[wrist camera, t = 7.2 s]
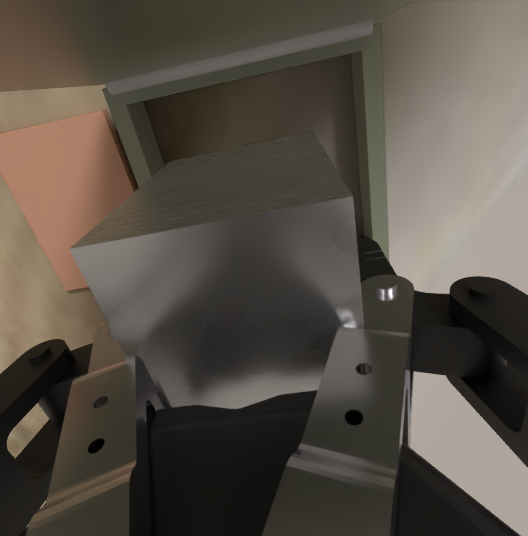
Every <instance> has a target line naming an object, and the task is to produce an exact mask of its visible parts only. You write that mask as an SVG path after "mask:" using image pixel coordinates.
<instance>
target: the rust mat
mask: <svg viewBox="0 0 528 536" xmlns="http://www.w3.org/2000/svg"><path fill="white" fill-rule="evenodd" d="M0 173H1V175H2V176H3V178H4V180H5V182H6V184H7V185H8V187H9V189H10V191H11V193H12V194H13V196H14V198H15V200H16V202H17V204H18V205H19V207H20V209H21V211H22V213H23V214H24V216H25V218H26V220H27V222H28V223H29V225H30V227H31V229H32V231H33V232H34V234H35V236H36V238H37V240H38V242H39V243H40V245H41V247H42V249H43V251H44V252H45V254H46V256H47V258H48V260H49V261H50V263H51V265H52V267H53V269H54V270H55V272H56V274H57V276H58V278H59V280H60V281H61V283H62V285H63V287H64V289H65V290H66V291H68V290H74V289H80V288H86V287H89V286H88V284H87V282H86V280H85V279H84V277H83V275H82V273H81V271H80V269H79V267H78V265H77V263H76V261H75V259H74V258H73V256H72V254H71V252H70V250H69V249H70V248H71V247H72V246H73V245H74V244H75V243H77V242H78V241H79V240H80V239H81V238H82V237H84V236H85V235H86V234H87V233H88V232H89V231H90V230H92V229H93V228H94V227H95V226H96V225H97V224H98V223H100V222H101V221H102V220H103V219H104V218H105V217H107V216H108V215H109V214H110V213H111V212H112V211H113V210H115V209H116V208H117V207H118V206H119V205H120V204H121V203H123V202H124V201H125V200H126V199H127V198H128V197H129V196H131V195H132V194H133V193H134V192H135V191H136V190H137V189H136V186H135V184H134V181H133V178H132V176H131V173H130V170H129V168H128V165H127V162H126V160H125V157H124V155H123V152H122V149H121V147H120V144H119V141H118V139H117V136H116V133H115V131H114V128H113V125H112V123H111V120H110V118H109V115H108V112H107V110H102V111H97V112H93V113H89V114H84V115H80V116H75V117H71V118H67V119H62V120H58V121H54V122H49V123H45V124H40V125H36V126H32V127H27V128H23V129H19V130H14V131H10V132H5V133H1V134H0Z"/></svg>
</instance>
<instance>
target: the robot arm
mask: <svg viewBox="0 0 528 536" xmlns="http://www.w3.org/2000/svg"><path fill="white" fill-rule="evenodd" d="M357 248H358V259H359V271H360V282H361V294H362V305H363V317H364V329H359V328H349V327H339V328H338V330H337V333H336V336H335V339H334V342H333V345H332V348H331V351H330V354H329V357H328V360H327V363H326V367H325V370H324V373H323V376H322V379H321V382H320V385H319V388H318V390H314V391H306V392H298V393H289V394H281V395H278V396H275V397H272V398H269V399H266V400H263V401H260V402H257V403H254V404H252V405H249V406H246V407H243V408H239V409H229V408H220V407H212V406H203V405H190V406H182V407H174V408H165V407H164V405H163V403H162V401H161V399H160V397H159V395H158V393H157V391H156V389H155V386H154V384H153V380H152V378H151V376H150V374H149V372H148V370H147V368H146V366H145V364H144V362H143V360H142V359H141V358H140V357H139V356H135V357H132V358H129V359H126V357H125V355H124V353H123V351H122V349H121V347H120V345H119V343H118V342H117V340H116V338H115V336H114V334H113V332H112V330H111V328H110V326H109V324H108V322H107V323H106V324H104V325H103V326H102V327H101V328H100V329H99V330H98V331H97V332H96V334H95V335H94V340H93V343H92V344H89V345H86V346H83V347H80V348H78V349H75V350H72V351H70V349H69V348H68V346H67V344H66V343H65V341H63V340H61V339H54V340H49V341H46V342H43V343H41V344H38V345H36V346H34V347H33V348H31V349H29V350H28V351H27V352H25V353H24V354H23V355H21V356H20V357H19V358H18V359H17V360H16V361H15V362H14V363H12V364H11V365H10V366H9V367H8V368H7V369H6V370H4V371H3V372H2V373H1V374H0V536H520V535H519V534H518V533H516V532H515V531H514V530H513V529H511V528H510V527H509V526H508V525H506V524H505V523H504V522H503V521H501V520H500V519H499V518H498V517H496V516H495V515H494V514H493V513H491V512H490V511H489V510H487V509H486V508H485V507H484V506H483V505H481V504H480V503H479V502H477V501H476V500H475V499H474V498H472V497H471V496H470V495H469V494H467V493H466V492H465V491H464V490H462V489H461V488H460V487H458V486H457V485H456V484H455V483H454V482H452V481H451V480H450V479H448V478H447V477H446V476H445V475H444V474H442V473H441V472H440V471H439V470H437V469H436V468H435V467H433V466H432V465H431V464H430V463H428V462H427V461H426V460H425V459H423V458H422V457H421V456H419V455H418V454H417V453H416V452H415V451H413V450H412V449H411V448H410V436H411V434H410V433H411V411H412V395H413V378H414V371H416V372H424V373H432V374H440V375H446V377H447V378H448V380H449V381H450V383H451V384H452V385H453V386H454V387H455V388H456V389H457V390H458V391H459V392H460V393H461V395H462V396H463V397H464V398H465V399H466V400H467V401H468V402H469V403H470V405H471V406H472V407H473V408H474V409H475V410H476V411H477V412H478V413H479V414H480V416H481V417H482V418H483V419H484V420H485V421H486V422H487V423H488V424H489V425H490V427H491V428H492V429H493V430H494V431H495V432H496V433H497V434H498V435H499V436H500V438H501V439H502V440H503V441H504V442H505V443H506V444H507V445H508V446H509V447H510V449H512V451H513V452H514V453H515V454H516V455H517V456H518V457H519V458H520V460H521V461H522V462H523V463H524V464H525V465H526V466H527V467H528V295H526V294H525V293H523V292H521V291H520V290H518V289H516V288H515V287H513V286H511V285H510V284H507V283H506V282H504V281H501V280H498V279H495V278H490V277H480V276H479V277H478V276H477V277H467V278H463V279H460V280H458V281H456V282H454V283H453V284H452V286H451V287H450V294H435V293H424V292H419V291H415V290H414V286H413V284H412V283H411V282H410V281H409V280H407V279H406V278H403V277H400V276H397V275H396V273H395V271H394V270H393V268H392V266H391V265H390V263H389V261H388V260H387V258H386V257H385V255H384V253H383V251H382V250H381V248H380V246H379V244H378V243H377V242H376V241H374V240H372V239H370V238H368V237H363V238H357ZM37 403H38V404H39V405H40V407H41V408H42V409H43V411H44V412H45V413H46V415H47V416H48V417H49V420H48V422H47V423H46V424H45V425H44V426H43V427H42V429H41V430H40V431H39V432H38V433H37V434H36V435H35V437H34V438H33V439H32V440H31V441H30V442H29V444H28V445H27V446H26V447H25V448H24V449H23V451H22V452H21V453H20V454H19V455H18V456H17V457H16V459H15V458H14V457H13V456H12V455H11V454H10V452H9V451H8V449H7V439H8V436H9V434H10V432H11V431H12V429H13V428H14V427H15V426H16V425H17V424H18V423H19V422H20V421H21V420H22V419H23V417H24V416H25V415H26V414H27V413H28V412H29V411H30V410H31V409H32V408H33V407H34V406H35V405H36V404H37ZM45 500H46V503H45V504H44V506H43V507H42V508H40V507H41V506H42V505H43V503H44V502H45ZM28 524H29V526H28V527H27V528H26V526H27V525H28ZM25 528H26V529H25Z"/></svg>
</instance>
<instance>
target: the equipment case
mask: <svg viewBox="0 0 528 536" xmlns="http://www.w3.org/2000/svg"><path fill="white" fill-rule="evenodd" d="M414 1H416V0H0V92H4V91H19V90H33V89H48V88H63V87H78V86H92V85H102V84H105V86H106V88H104V89H102V90H103V93H104V95H105V98H106V101H107V104H108V106H109V109H110V112H111V114H112V117H113V120H114V122H115V125H116V128H117V130H118V133H119V136H120V138H121V141H122V144H123V146H124V149H125V152H126V154H127V157H128V160H129V162H130V165H131V168H132V170H133V173H134V176H135V178H136V181H137V184H138V186H139V188H140V187H141V186H142V185H143V184H144V183H146V182H147V181H148V180H149V179H150V178H151V177H152V176H154V175H155V174H156V173H157V172H158V171H159V170H161V169H162V168H163V167H164V163H163V159H162V156H161V153H160V150H159V147H158V144H157V141H156V138H155V135H154V132H153V129H152V126H151V123H150V120H149V117H148V114H147V111H146V108H145V105H144V102H143V101H146V100H150V99H155V98H159V97H163V96H168V95H172V94H176V93H181V92H185V91H190V90H194V89H198V88H203V87H207V86H211V85H216V84H220V83H225V82H229V81H233V80H238V79H242V78H247V77H251V76H255V75H260V74H264V73H268V72H273V71H277V70H282V69H286V68H290V67H295V66H299V65H303V64H308V63H312V62H317V61H321V60H325V59H330V58H334V57H339V56H343V55H347V54H351V65H352V80H353V94H354V108H355V122H356V136H357V150H358V164H359V178H360V193H361V207H362V221H363V235H364V237H368V238H370V239H372V240H374V241H376V242H377V243H378V244H379V246H380V248H381V250H382V251H383V253H384V255H385V257H386V258H387V260H388V261H389V244H388V215H387V186H386V157H385V128H384V99H383V70H382V42H381V23H380V24H376V25H374V20H377V19H381V18H383V17H385V16H387V15H389V14H391V13H393V12H395V11H397V10H399V9H401V8H403V7H405V6H407V5H408V4H410V3H412V2H414ZM361 238H363V237H361Z"/></svg>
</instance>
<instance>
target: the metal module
mask: <svg viewBox="0 0 528 536" xmlns="http://www.w3.org/2000/svg"><path fill="white" fill-rule="evenodd" d="M69 250H70V252H71V254H72V256H73V258H74V259H75V261H76V263H77V265H78V267H79V269H80V271H81V273H82V275H83V277H84V279H85V280H86V282H87V284H88V286H89V288H90V290H91V292H92V294H93V296H94V298H95V300H96V301H97V303H98V305H99V307H100V309H101V311H102V313H103V315H104V317H105V319H106V321H107V322H108V324H109V326H110V328H111V330H112V332H113V334H114V336H115V338H116V340H117V342H118V343H119V345H120V347H121V349H122V351H123V353H124V355H125V357H126V359H129V358H132V357H135V356H139V357H140V358H141V359H142V360H143V362H144V364H145V366H146V368H147V370H148V372H149V374H150V376H151V378H152V380H153V384H154V386H155V389H156V391H157V393H158V395H159V397H160V399H161V401H162V403H163V405H164V407H165V408H174V407H182V406H190V405H203V406H212V407H220V408H229V409H239V408H243V407H246V406H249V405H252V404H254V403H257V402H260V401H263V400H266V399H269V398H272V397H275V396H278V395H281V394H289V393H298V392H306V391H314V390H318V388H319V385H320V382H321V379H322V376H323V373H324V370H325V367H326V363H327V360H328V357H329V354H330V351H331V348H332V345H333V342H334V339H335V336H336V333H337V330H338V328H339V327H349V328H359V329H364V317H363V305H362V294H361V282H360V271H359V259H358V248H357V236H356V224H355V213H354V201H353V195H352V194H351V192H350V190H349V189H348V187H347V186H346V184H345V182H344V181H343V179H342V178H341V176H340V174H339V173H338V171H337V170H336V168H335V166H334V165H333V163H332V162H331V160H330V158H329V157H328V155H327V153H326V152H325V150H324V149H323V147H322V145H321V144H320V142H319V141H318V139H317V137H316V136H315V134H314V133H313V131H310V132H305V133H300V134H296V135H291V136H286V137H281V138H277V139H272V140H267V141H262V142H258V143H253V144H248V145H243V146H239V147H234V148H229V149H224V150H220V151H215V152H210V153H206V154H201V155H196V156H191V157H187V158H182V159H177V160H172V161H170V162H169V163H167V164H166V165H165V166H164V167H163V168H162V169H161V170H159V171H158V172H157V173H156V174H155V175H154V176H152V177H151V178H150V179H149V180H148V181H147V182H146V183H144V184H143V185H142V186H141V187H140V188H139V189H138V190H136V191H135V192H134V193H133V194H132V195H131V196H129V197H128V198H127V199H126V200H125V201H124V202H123V203H121V204H120V205H119V206H118V207H117V208H116V209H115V210H113V211H112V212H111V213H110V214H109V215H108V216H107V217H105V218H104V219H103V220H102V221H101V222H100V223H98V224H97V225H96V226H95V227H94V228H93V229H92V230H90V231H89V232H88V233H87V234H86V235H85V236H84V237H82V238H81V239H80V240H79V241H78V242H77V243H75V244H74V245H73V246H72V247H71V248H70V249H69Z"/></svg>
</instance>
